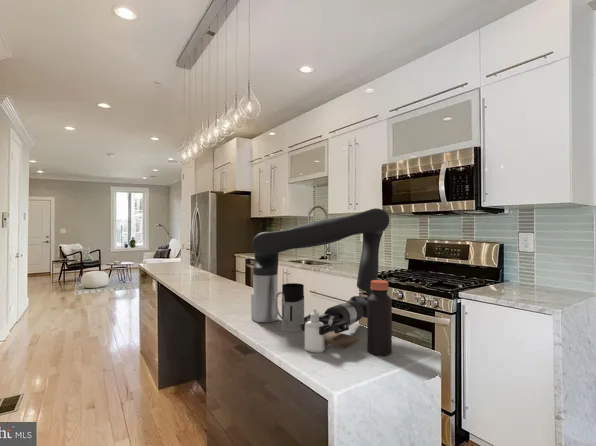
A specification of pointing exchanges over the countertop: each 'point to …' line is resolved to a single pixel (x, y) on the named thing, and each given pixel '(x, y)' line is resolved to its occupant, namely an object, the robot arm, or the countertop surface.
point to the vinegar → (379, 319)
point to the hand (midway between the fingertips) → (310, 329)
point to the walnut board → (340, 339)
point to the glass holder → (291, 307)
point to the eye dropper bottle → (314, 334)
